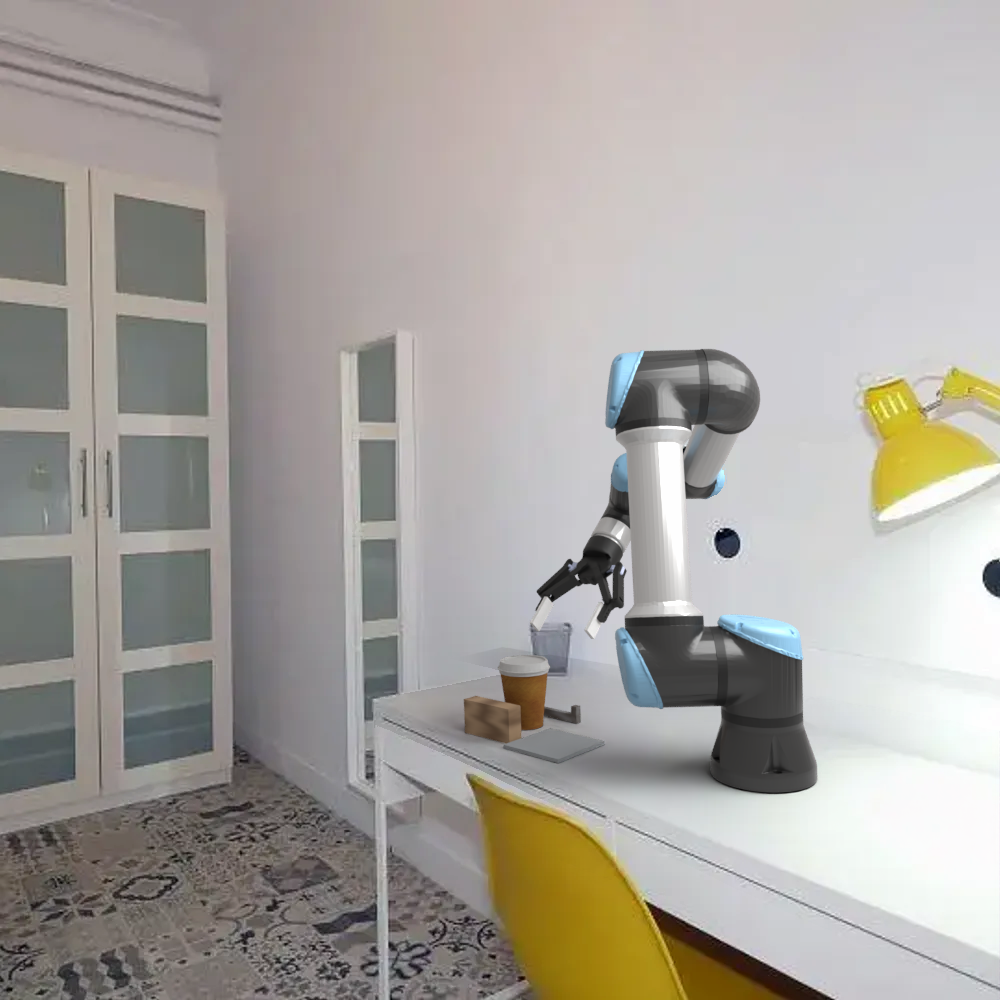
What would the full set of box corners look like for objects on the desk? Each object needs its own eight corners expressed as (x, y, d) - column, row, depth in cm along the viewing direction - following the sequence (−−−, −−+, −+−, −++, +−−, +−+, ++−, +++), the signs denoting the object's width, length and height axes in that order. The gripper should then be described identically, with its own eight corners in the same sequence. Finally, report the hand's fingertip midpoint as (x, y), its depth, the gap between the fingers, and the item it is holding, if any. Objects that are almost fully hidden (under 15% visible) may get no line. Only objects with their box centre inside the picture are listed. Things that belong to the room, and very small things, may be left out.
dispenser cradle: (580, 722, 158) (579, 689, 158) (514, 746, 145) (513, 710, 145) (526, 710, 167) (525, 679, 167) (460, 731, 155) (459, 698, 154)
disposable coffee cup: (552, 717, 161) (550, 653, 161) (550, 733, 152) (548, 665, 151) (502, 718, 162) (500, 654, 162) (497, 733, 153) (494, 665, 152)
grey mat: (604, 744, 144) (604, 740, 144) (558, 763, 136) (557, 759, 136) (550, 731, 153) (550, 727, 153) (503, 748, 144) (503, 744, 144)
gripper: (667, 560, 168) (623, 650, 157) (568, 554, 185) (522, 635, 175) (650, 535, 164) (604, 625, 153) (551, 531, 181) (503, 612, 171)
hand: (560, 630), depth 164 cm, fingers open, 13 cm apart
